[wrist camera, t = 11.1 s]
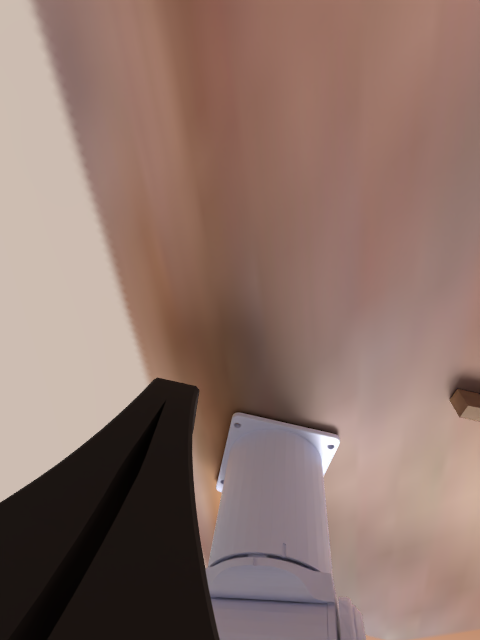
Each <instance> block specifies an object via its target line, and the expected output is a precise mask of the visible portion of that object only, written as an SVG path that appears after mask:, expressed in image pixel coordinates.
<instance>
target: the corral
mask: <svg viewBox="0 0 480 640" xmlns="http://www.w3.org/2000/svg"><path fill="white" fill-rule="evenodd" d="M450 402H451V403H452V405H453V407H454V408H455V410H456V412H457V414H458V415H459V417H461V418H465V419H469V420H474V421H478V422H480V394H479V393H474V392H470V391H465V390H461V389H457V390H456V391H455V393H454V394H453V396H452V397H451V399H450Z"/></svg>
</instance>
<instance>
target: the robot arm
mask: <svg viewBox="0 0 480 640" xmlns="http://www.w3.org/2000/svg"><path fill="white" fill-rule="evenodd" d="M198 396H199V389H198V388H197V387H196V386H192V385H188V384H183V383H179V382H175V381H170V380H166V379H161V378H156V379H154V380H153V381H152V382H151V383H150V384H149V385H148V386H147V387H146V389H145V390H144V391H143V392H142V393H141V394H140V395H139V396H138V397H137V398H136V399H135V400H133V402H132V403H130V404H129V405H128V406H127V407H126V408H125V409H124V410H123V411H122V412H121V413H120V414H119V415H118V416H116V417H115V418H114V419H113V420H112V421H111V422H110V423H108V424H107V425H106V426H105V427H104V428H103V429H102V430H100V431H99V432H98V433H97V434H95V435H94V436H93V437H92V438H90V439H89V440H88V441H87V442H86V443H84V444H83V445H82V446H81V447H80V448H78V449H77V450H76V451H74V452H73V453H72V454H70V455H69V456H68V457H66V458H65V459H64V460H62V461H61V462H60V463H58V464H57V465H56V466H54V467H53V468H52V469H50V470H49V471H47V472H46V473H44V474H43V475H41V476H40V477H39V478H37V479H36V480H34V481H33V482H31V483H30V484H28V485H27V486H25V487H24V488H22V489H20V490H19V491H18V492H16V493H14V494H13V495H11V496H10V497H8V498H7V499H5V500H4V501H2V502H0V640H366V636H365V629H364V623H363V617H362V613H361V612H360V611H359V610H358V609H357V608H356V606H354V605H352V601H351V599H350V598H348V597H339V606H338V601H337V596H336V591H335V586H334V580H333V571H332V561H331V550H330V540H329V529H328V519H327V508H326V498H325V487H324V477H323V476H324V474H325V472H326V470H327V468H328V466H329V464H330V462H331V460H332V458H333V456H334V454H335V452H336V450H337V448H338V446H339V444H340V438H339V436H338V435H336V434H333V433H328V432H324V431H319V430H315V429H311V428H306V427H302V426H297V425H293V424H289V423H284V422H280V421H275V420H271V419H267V418H262V417H258V416H253V415H249V414H244V413H240V412H237V413H234V414H233V416H232V420H231V425H230V429H229V433H228V438H227V442H226V446H225V451H224V455H223V459H222V464H221V468H220V472H219V477H218V481H217V485H216V489H217V490H218V491H219V492H222V495H221V500H220V506H219V511H218V516H217V521H216V527H215V532H214V537H213V543H212V548H211V553H210V559H209V564H208V568H205V565H204V559H203V553H202V548H201V542H200V535H199V527H198V520H197V512H196V503H195V493H194V481H193V464H192V434H193V430H194V423H195V416H196V409H197V403H198ZM236 423H239V424H236ZM330 444H332V445H330Z"/></svg>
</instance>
